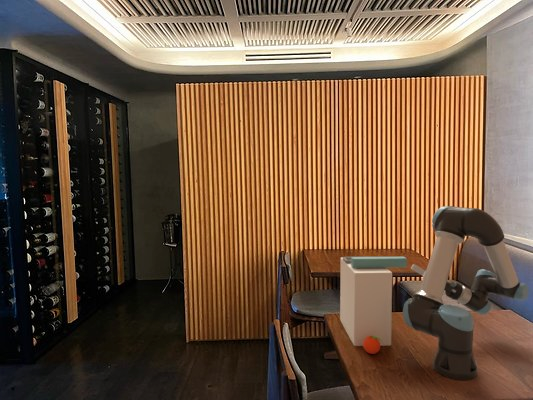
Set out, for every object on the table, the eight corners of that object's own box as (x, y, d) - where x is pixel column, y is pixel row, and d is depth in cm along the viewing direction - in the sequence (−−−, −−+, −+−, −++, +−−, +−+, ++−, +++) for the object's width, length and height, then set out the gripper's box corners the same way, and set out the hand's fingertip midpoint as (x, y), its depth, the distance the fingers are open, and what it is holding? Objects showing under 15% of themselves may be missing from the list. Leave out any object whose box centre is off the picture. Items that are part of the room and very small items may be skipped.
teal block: (403, 265, 184) (403, 256, 183) (406, 267, 180) (406, 258, 179) (351, 265, 183) (351, 257, 183) (353, 267, 179) (353, 259, 179)
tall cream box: (371, 319, 204) (372, 254, 201) (391, 345, 174) (392, 269, 172) (340, 319, 204) (340, 254, 201) (354, 346, 174) (354, 269, 171)
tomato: (382, 350, 169) (383, 334, 169) (383, 358, 163) (383, 341, 162) (363, 348, 171) (363, 332, 171) (362, 355, 165) (362, 339, 164)
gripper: (467, 309, 171) (425, 285, 170) (440, 291, 196) (403, 270, 195) (476, 294, 171) (434, 269, 169) (448, 278, 195) (411, 256, 194)
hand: (418, 269), depth 182 cm, fingers open, 13 cm apart
